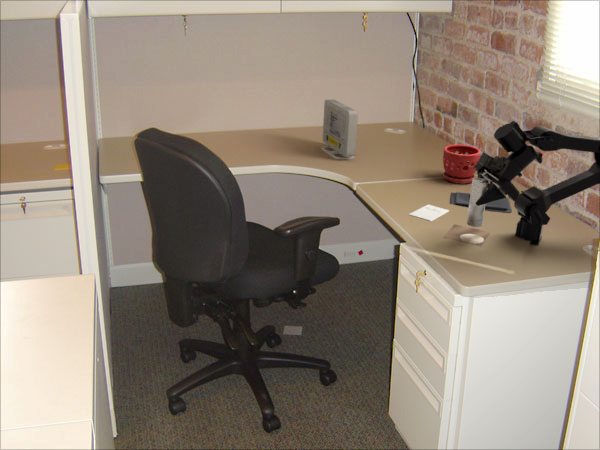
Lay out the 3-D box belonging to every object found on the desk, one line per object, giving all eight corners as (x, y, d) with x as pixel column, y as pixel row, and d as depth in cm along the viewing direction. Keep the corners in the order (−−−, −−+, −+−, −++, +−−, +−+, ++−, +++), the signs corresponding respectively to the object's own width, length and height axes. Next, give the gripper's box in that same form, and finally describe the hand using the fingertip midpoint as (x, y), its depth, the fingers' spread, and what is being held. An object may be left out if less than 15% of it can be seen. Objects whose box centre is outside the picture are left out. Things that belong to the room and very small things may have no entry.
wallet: (449, 202, 210) (451, 188, 224) (448, 208, 211) (450, 193, 224) (512, 210, 206) (510, 195, 219) (511, 215, 206) (509, 200, 220)
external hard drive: (407, 218, 201) (426, 208, 210) (430, 225, 196) (449, 214, 205) (407, 213, 200) (427, 203, 209) (431, 220, 195) (450, 210, 204)
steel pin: (481, 221, 184) (487, 178, 179) (483, 227, 180) (489, 183, 175) (465, 220, 184) (471, 177, 179) (467, 226, 180) (473, 182, 175)
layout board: (490, 234, 189) (490, 231, 189) (480, 248, 180) (481, 245, 179) (454, 226, 194) (454, 223, 194) (442, 240, 184) (442, 236, 184)
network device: (359, 160, 256) (363, 111, 248) (339, 162, 253) (342, 112, 245) (335, 144, 278) (337, 98, 270) (316, 145, 275) (318, 99, 268)
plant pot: (436, 174, 243) (439, 143, 238) (469, 174, 244) (473, 144, 239) (446, 185, 231) (450, 153, 226) (481, 185, 232) (486, 154, 227)
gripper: (484, 134, 182) (443, 172, 184) (515, 152, 165) (470, 194, 167) (506, 160, 186) (465, 197, 189) (538, 180, 169) (493, 221, 172)
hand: (472, 201), depth 179 cm, fingers closed on steel pin, 4 cm apart
